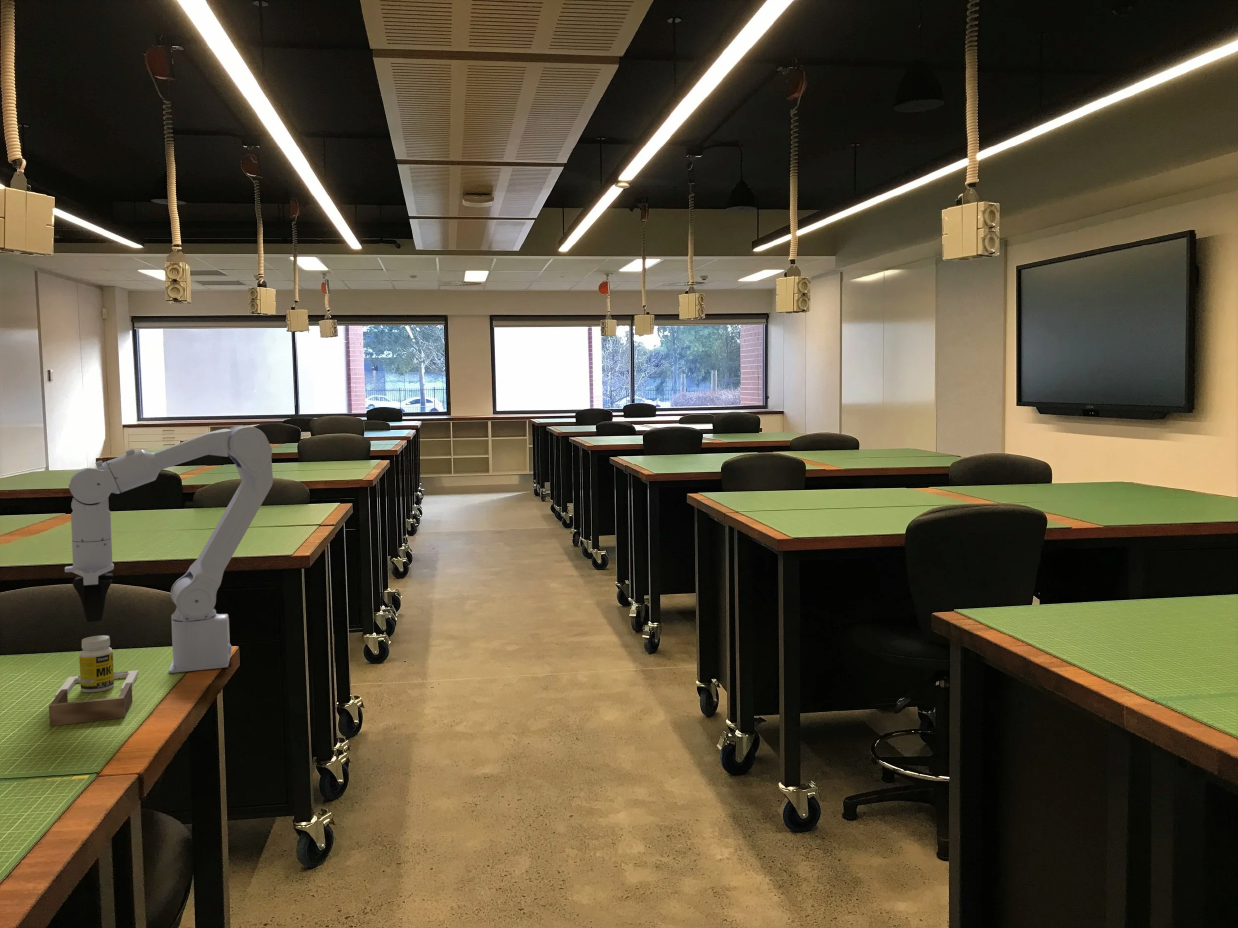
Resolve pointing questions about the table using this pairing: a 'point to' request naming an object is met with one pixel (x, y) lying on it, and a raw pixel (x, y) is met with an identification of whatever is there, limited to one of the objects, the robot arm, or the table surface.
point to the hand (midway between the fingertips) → (94, 619)
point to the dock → (128, 675)
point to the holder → (89, 708)
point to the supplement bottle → (96, 664)
